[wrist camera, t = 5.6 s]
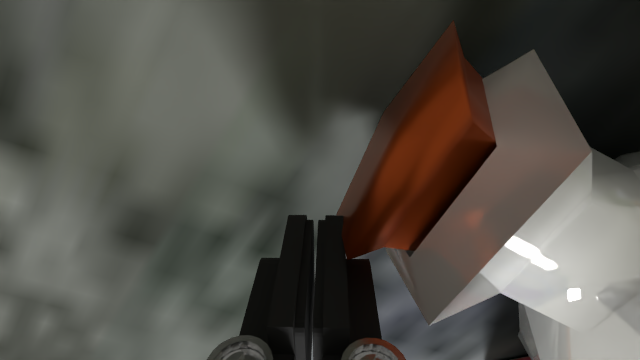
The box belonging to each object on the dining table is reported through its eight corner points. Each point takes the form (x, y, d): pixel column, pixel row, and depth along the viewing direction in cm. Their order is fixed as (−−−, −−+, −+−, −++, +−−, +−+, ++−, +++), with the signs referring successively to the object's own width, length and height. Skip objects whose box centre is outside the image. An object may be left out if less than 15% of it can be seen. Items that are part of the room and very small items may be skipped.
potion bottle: (641, 263, 16) (366, 120, 15) (1122, 185, 8) (564, -160, 6) (668, 509, 12) (279, 332, 11) (1897, 988, 3) (545, 328, 2)
